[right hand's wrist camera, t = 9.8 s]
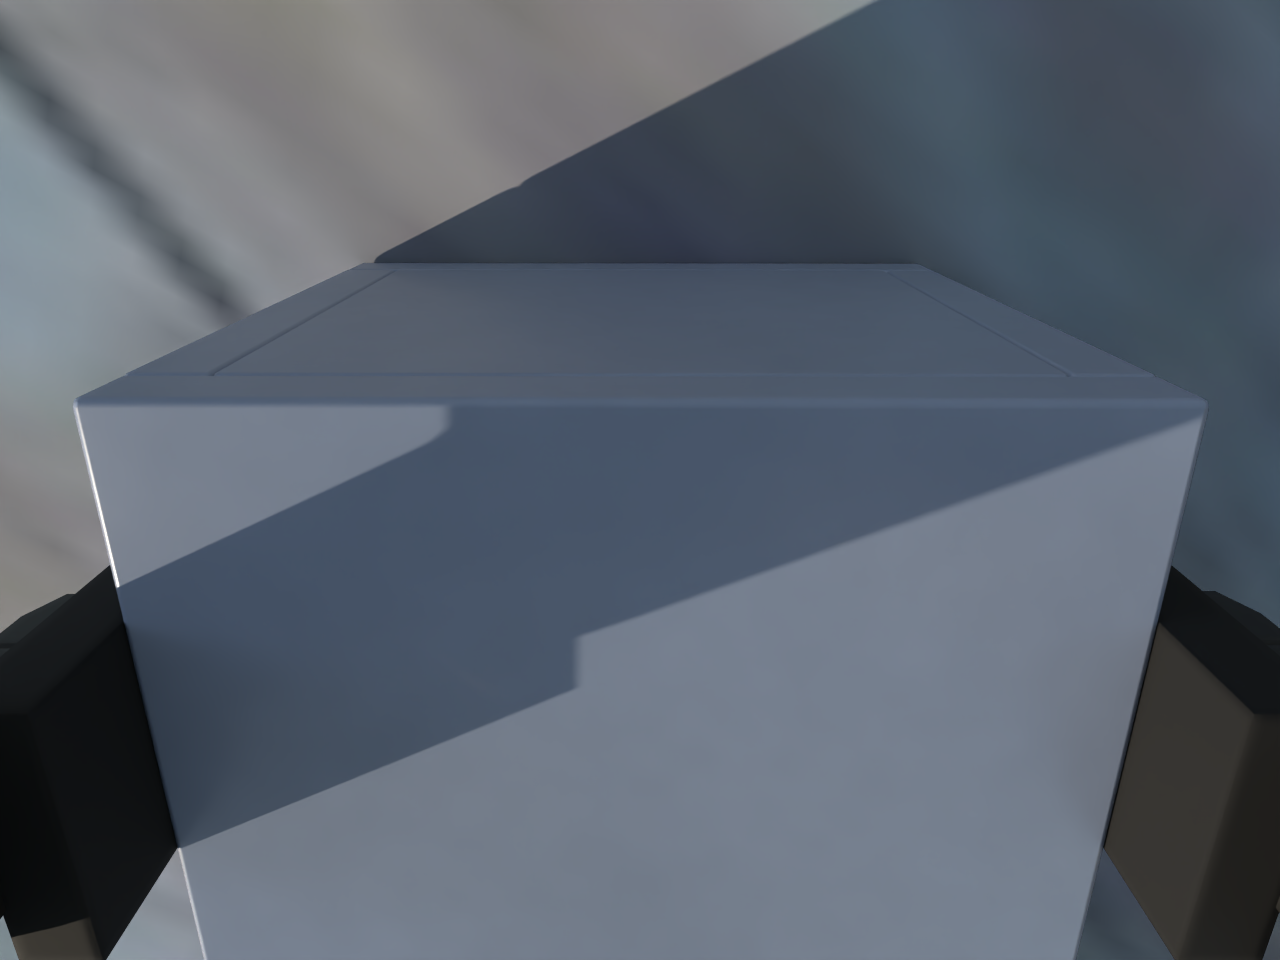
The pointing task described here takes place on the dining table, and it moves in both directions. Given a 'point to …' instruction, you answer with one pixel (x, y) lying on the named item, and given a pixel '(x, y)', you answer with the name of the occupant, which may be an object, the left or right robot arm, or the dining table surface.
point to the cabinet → (640, 611)
